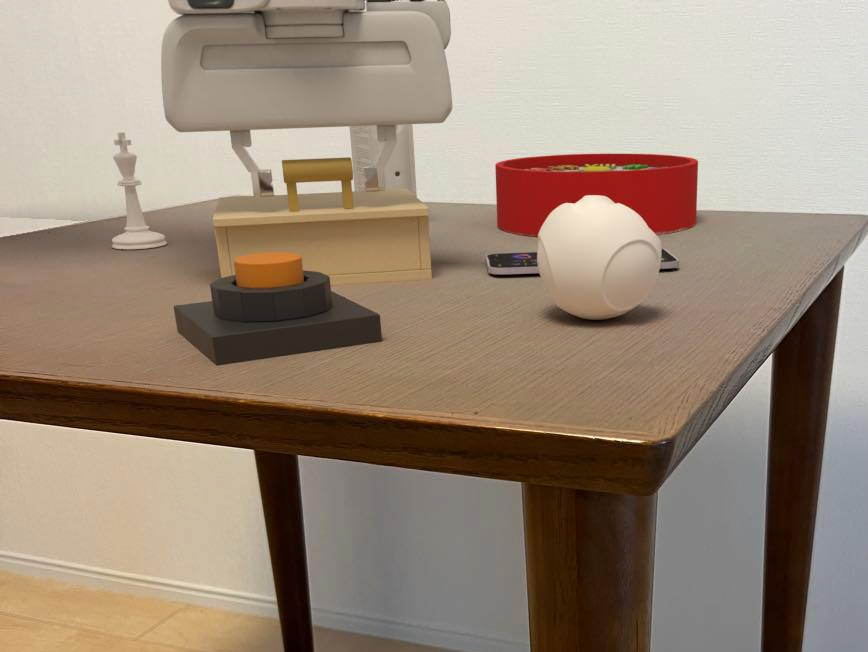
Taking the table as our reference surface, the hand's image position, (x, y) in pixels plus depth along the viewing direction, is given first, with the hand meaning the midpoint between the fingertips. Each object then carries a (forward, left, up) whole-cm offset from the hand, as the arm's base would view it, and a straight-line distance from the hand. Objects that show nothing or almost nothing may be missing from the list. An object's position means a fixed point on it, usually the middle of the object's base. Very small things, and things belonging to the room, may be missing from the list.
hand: (319, 193), depth 81 cm
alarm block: (-9, -15, -7) cm, 19 cm away
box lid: (+1, +5, -2) cm, 5 cm away
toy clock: (+33, +15, -7) cm, 37 cm away
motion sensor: (+10, -22, -7) cm, 25 cm away
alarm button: (-9, -15, -4) cm, 18 cm away
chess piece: (-9, +29, -7) cm, 31 cm away
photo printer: (+16, +29, -7) cm, 34 cm away
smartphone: (+19, -5, -7) cm, 21 cm away
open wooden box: (+1, +5, -7) cm, 8 cm away
